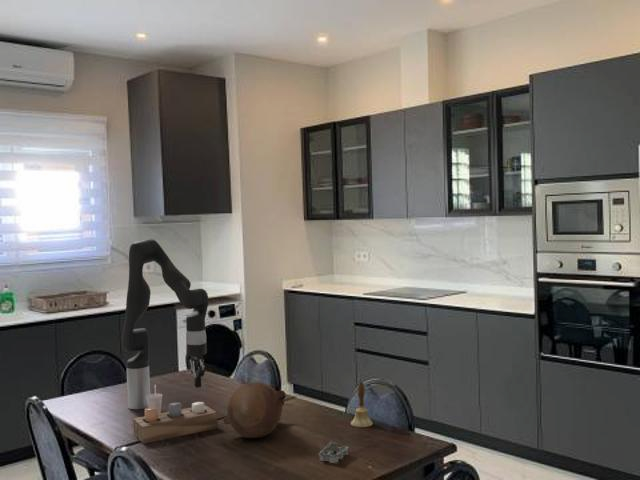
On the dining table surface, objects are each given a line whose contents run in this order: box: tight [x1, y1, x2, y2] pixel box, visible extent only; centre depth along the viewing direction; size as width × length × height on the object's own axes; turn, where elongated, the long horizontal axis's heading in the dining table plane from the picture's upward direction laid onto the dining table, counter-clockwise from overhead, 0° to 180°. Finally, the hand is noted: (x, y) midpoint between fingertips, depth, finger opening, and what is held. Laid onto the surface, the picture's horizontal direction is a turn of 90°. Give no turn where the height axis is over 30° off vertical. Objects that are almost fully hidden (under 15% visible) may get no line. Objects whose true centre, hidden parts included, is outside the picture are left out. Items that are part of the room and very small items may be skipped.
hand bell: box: [350, 381, 373, 428], centre depth 239 cm, size 8×8×16 cm
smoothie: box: [146, 384, 163, 414], centre depth 252 cm, size 6×6×14 cm
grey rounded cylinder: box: [168, 401, 183, 418], centre depth 237 cm, size 5×5×6 cm
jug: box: [223, 381, 287, 439], centre depth 234 cm, size 20×20×30 cm
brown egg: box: [144, 407, 158, 423], centre depth 233 cm, size 5×5×6 cm
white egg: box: [191, 401, 205, 414], centre depth 242 cm, size 5×5×6 cm
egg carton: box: [317, 440, 350, 464], centre depth 206 cm, size 10×7×4 cm
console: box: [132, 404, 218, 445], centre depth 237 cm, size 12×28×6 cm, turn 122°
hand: (197, 386), depth 242 cm, fingers closed
